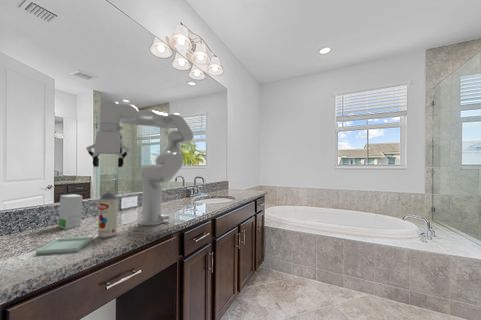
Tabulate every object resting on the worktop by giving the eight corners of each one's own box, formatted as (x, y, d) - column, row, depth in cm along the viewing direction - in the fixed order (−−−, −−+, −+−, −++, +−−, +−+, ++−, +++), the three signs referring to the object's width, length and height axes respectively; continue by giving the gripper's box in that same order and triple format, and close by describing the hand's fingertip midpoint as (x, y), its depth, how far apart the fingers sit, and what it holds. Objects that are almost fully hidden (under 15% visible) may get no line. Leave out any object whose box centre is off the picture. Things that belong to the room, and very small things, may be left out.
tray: (92, 240, 86) (92, 236, 86) (77, 252, 74) (77, 247, 74) (57, 242, 83) (57, 238, 83) (35, 255, 71) (36, 250, 72)
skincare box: (57, 226, 104) (59, 195, 104) (73, 223, 110) (74, 193, 110) (66, 229, 100) (67, 196, 100) (81, 226, 106) (83, 195, 106)
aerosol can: (94, 237, 90) (96, 190, 91) (109, 232, 96) (111, 188, 97) (105, 239, 88) (107, 191, 88) (120, 234, 94) (121, 189, 95)
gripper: (132, 130, 99) (131, 167, 99) (91, 129, 96) (90, 166, 95) (127, 128, 92) (126, 167, 91) (83, 126, 88) (81, 166, 88)
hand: (108, 166), depth 93 cm, fingers open, 9 cm apart
